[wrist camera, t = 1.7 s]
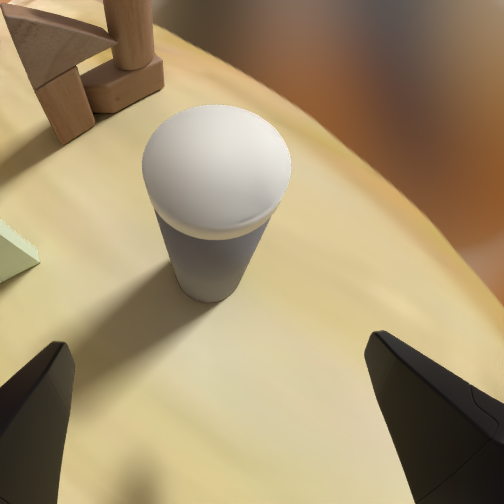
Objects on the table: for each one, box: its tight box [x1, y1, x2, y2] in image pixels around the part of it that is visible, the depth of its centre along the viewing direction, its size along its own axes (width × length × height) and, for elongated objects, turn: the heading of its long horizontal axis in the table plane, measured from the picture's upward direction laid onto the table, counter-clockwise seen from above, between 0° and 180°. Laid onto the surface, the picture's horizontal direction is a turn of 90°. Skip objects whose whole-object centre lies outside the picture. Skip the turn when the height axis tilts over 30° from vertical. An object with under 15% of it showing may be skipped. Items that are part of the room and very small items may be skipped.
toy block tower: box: [0, 0, 164, 144], centre depth 16 cm, size 4×11×18 cm, turn 130°
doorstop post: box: [142, 105, 291, 303], centre depth 15 cm, size 4×4×13 cm
